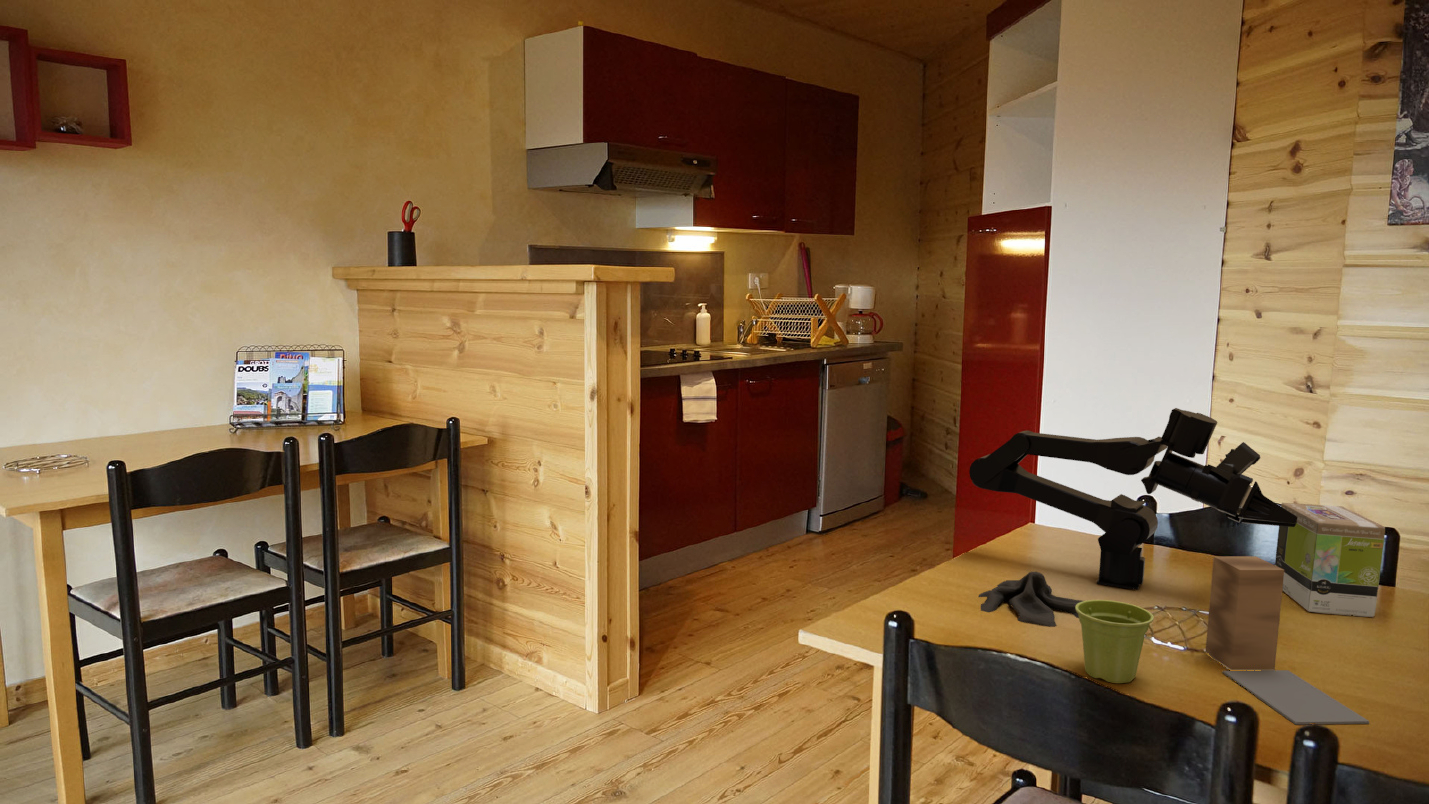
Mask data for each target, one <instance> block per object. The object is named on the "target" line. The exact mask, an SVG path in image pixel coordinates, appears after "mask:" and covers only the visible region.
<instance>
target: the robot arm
mask: <svg viewBox="0 0 1429 804" xmlns="http://www.w3.org/2000/svg"><path fill="white" fill-rule="evenodd" d="M1168 417H1169V418H1168V421H1167V424H1166V426H1165V430H1164V431H1163V433H1162V436H1156V437H1155V438H1152V439H1147V438H1144V437H1141V436H1124V437H1114V438H1113V437H1111V438H1105V439H1104V438H1103V439H1101V438H1100V439H1093V438H1085V437H1076V436H1068V435H1067V436H1065V435H1060V434H1059V435H1058V434H1049V433H1041V432H1035V431H1031V430H1023V431H1020V432H1017V433H1015V434H1013V435H1012V437H1011V438H1010V439H1008V440H1007V441H1006V442H1004V443H1003V444H1002V445H1001V446H999V447H998V448H996V449H995V450H994V451H993V452H991V453H988V454H987V455H984V456H982V457H979V458H976V459H974V461H973V462H972V463H971V464H970V466H969V473H968V474H969V479H970V480H971V483H972V484H973V485H974V486H976V487H977V488H979V489H982V490H986V491H987V490H988V491H991V492H997V493H1009V494H1010V493H1011V494H1016V495H1020V496H1023V497H1026V498H1028V499H1031V500H1033V501H1036V502H1038V503H1041V504H1044V505H1045V506H1049V507H1051V508H1054V509H1057V510H1059V511H1062V512H1065V513H1067V514H1070V515H1071V516H1075V517H1078V518H1080V519H1083V520H1086V521H1089V522H1091V523H1092V524H1094V525H1095V526H1097V527H1098V528H1099V529H1101V530H1102V531H1103V532H1104V533H1103V534H1102V535H1100V536H1099V537H1098V538H1097V543H1098V544H1099V545H1098V546H1099V548H1100V555H1099V556H1100V557H1099V571H1098V578H1097V580H1096V584H1098V585H1101V586H1102V585H1104V586H1109V587H1115V588H1116V587H1117V588H1121V589H1122V588H1123V589H1128V590H1134V591H1135V590H1136V591H1137V590H1138V591H1139V588H1140V585H1142V584H1143V583H1144V577H1145V568H1146V567H1145V565H1146V558H1145V556H1142V555H1143V554H1142V553H1143V548H1142V547H1140V546H1141V545H1143V543H1144V542H1146V541H1147V540H1148V539H1149V538H1150V537H1151V536H1152V535H1154V534H1155V532H1156V531H1157V530H1158V525H1159V521H1158V517H1157V515H1156V513H1155V511H1154V510H1153V509H1152V508H1151V507H1149V506H1147V505H1145V504H1146V502H1145V501H1143V500H1142V501H1141V500H1140V501H1139V500H1134V499H1132V498H1130V497H1129V496H1127V495H1125V494H1122V493H1121V494H1119V495H1117V496H1116V497H1114V498H1113V499H1112V500H1107V499H1103V498H1100V497H1097V496H1095V495H1092V494H1089V493H1086V492H1084V491H1081V490H1078V489H1075V488H1072V487H1069V486H1068V485H1064V484H1062V483H1058V482H1057V481H1053V480H1050V479H1048V478H1045V477H1042V476H1039V475H1037V474H1034V473H1032V472H1029V471H1027V470H1026V469H1025V468H1023V467H1022V465H1020V462H1022V461H1023V459H1025V458H1026V457H1027V456H1028V455H1029V456H1037V457H1045V458H1052V459H1053V458H1054V459H1061V460H1068V461H1076V462H1085V463H1090V464H1094V465H1097V466H1099V467H1102V468H1104V469H1106V470H1109V471H1112V472H1115V473H1117V474H1118V473H1119V474H1121V475H1126V476H1134V475H1138V474H1139V473H1141V472H1143V471H1144V470H1146V469H1148V468H1149V467H1150V466H1151V465H1152V464H1153V465H1152V467H1151V469H1150V472H1149V474H1148V476H1144V477H1143V478H1141V480H1140V482H1141V483H1142V484H1143V486H1144V489H1145V492H1146V494H1147V495H1151V494H1153V493H1154V492H1155V491H1156V490H1157V488H1158V486H1161V487H1163V488H1166V489H1168V490H1169V491H1172V492H1175V493H1176V494H1180V495H1182V496H1185V497H1187V498H1189V499H1191V500H1193V501H1195V502H1197V503H1201V504H1203V505H1205V506H1208V507H1211V508H1212V509H1215V510H1217V511H1219V512H1221V513H1222V514H1223V513H1225V515H1226V517H1227V518H1228V519H1230V520H1232V521H1234V522H1236V523H1240V522H1241V523H1242V524H1249V525H1251V524H1252V525H1261V526H1263V525H1264V526H1276V527H1279V526H1286V527H1295V525H1296V523H1297V519H1298V517H1297V516H1295V515H1294V514H1292V513H1291V512H1289V511H1287V510H1286V509H1284V508H1283V507H1281V505H1280V504H1278V503H1276V502H1275V501H1273V500H1272V499H1270V498H1269V497H1266V496H1265V495H1264V494H1263V493H1262V490H1261V488H1260V486H1259V483H1258V482H1257V481H1254V479H1253V478H1252V477H1250V476H1247V475H1245V474H1244V473H1245V471H1247V470H1248V469H1249V468H1250V467H1251V466H1252V465H1256V464H1257V463H1258V461H1260V459H1262V458H1261V455H1260V454H1259V453H1258V452H1256V451H1255V450H1254V449H1253V448H1252V447H1250V446H1249V445H1248V444H1247V443H1246V442H1241V443H1240V444H1239V445H1238V446H1237V447H1236V448H1231V449H1230V451H1229V452H1228V453H1226V454H1225V455H1224V456H1225V458H1224V459H1222V461H1221V462H1219V464H1218V465H1216V466H1214V465H1212V464H1209V463H1208V464H1207V465H1206V464H1205V465H1203V464H1201V463H1198V462H1196V461H1193V460H1191V459H1192V458H1195V457H1196V455H1204V454H1205V452H1206V449H1207V447H1208V445H1209V443H1210V440H1211V437H1212V436H1213V433H1214V431H1215V429H1216V427H1217V425H1218V421H1217V420H1216V419H1214V418H1212V417H1210V416H1209V415H1206V414H1203V413H1200V412H1193V411H1189V410H1183V409H1180V408H1178V407H1174V408H1172V409H1171V411H1170V414H1169V416H1168ZM1164 450H1165V453H1164V454H1163V457H1162V459H1161V460H1155V457H1156V456H1157V455H1158V454H1160V453H1162V452H1163V451H1164ZM1188 458H1191V459H1188ZM1253 482H1254V484H1253ZM1252 484H1253V485H1252Z"/></svg>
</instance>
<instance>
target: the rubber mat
mask: <svg viewBox="0 0 1429 804" xmlns="http://www.w3.org/2000/svg"><path fill="white" fill-rule="evenodd" d="M1222 674H1224V676H1226V677H1227V676H1228V678H1229V677H1230V678H1231V680H1232V679H1233V680H1234V681H1236V682H1237V683H1238V684H1237V683H1236V682H1235V683H1236V684H1237V685H1239V686H1240V685H1241V686H1240V687H1242V686H1243V687H1245V688H1246V689H1247V690H1248V691H1247V690H1246V689H1245V690H1246V691H1247V692H1249V691H1250V692H1251V693H1250V692H1249V693H1250V694H1252V695H1253V694H1254V695H1255V697H1256V698H1257V699H1258V700H1260V701H1262V702H1263V703H1264V704H1266V705H1267V706H1269V707H1270V708H1271V709H1272V710H1274V711H1276V712H1277V713H1279V714H1280V715H1281V716H1283V717H1284V718H1285V719H1287V720H1288V721H1289V722H1291V723H1293V724H1294V725H1299V726H1301V725H1311V724H1310V723H1316V724H1315V725H1354V724H1355V725H1356V724H1357V725H1359V724H1361V725H1362V724H1363V725H1365V724H1370V720H1368V719H1366V718H1365V717H1363V716H1362V715H1360V714H1359V713H1357V712H1355V711H1354V710H1352V709H1351V708H1349V707H1347V706H1346V705H1344V704H1343V703H1342V702H1340V701H1338V700H1337V699H1335V698H1333V697H1331V696H1330V695H1328V694H1327V693H1325V692H1323V691H1322V690H1321V689H1320V688H1317V687H1315V686H1314V685H1312V684H1311V683H1310V682H1307V681H1306V680H1304V679H1303V678H1301V677H1299V676H1298V675H1296V674H1295V673H1293V672H1291V671H1290V670H1287V669H1284V670H1282V669H1281V670H1280V669H1279V670H1278V669H1276V670H1261V671H1229V670H1222ZM1230 678H1229V679H1230ZM1233 680H1232V681H1233ZM1234 681H1233V682H1234ZM1243 687H1242V688H1243ZM1254 695H1253V696H1254Z"/></svg>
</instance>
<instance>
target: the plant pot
mask: <svg viewBox="0 0 1429 804" xmlns="http://www.w3.org/2000/svg"><path fill="white" fill-rule="evenodd" d="M1075 609H1076V612H1077V613H1078V614H1079V618H1078V621H1079V622H1080V624H1081V635H1082V647H1083V661H1084V663H1083V664H1084V670H1085V673H1086V674H1088V675H1089V676H1090V677H1091V678H1094V679H1102V680H1104V681H1106V682H1108V683H1113V684H1114V683H1115V684H1127V683H1131V682H1132V681H1133V679H1135V678H1136V676H1137V672H1138V666H1139V663H1140V658H1141V653H1142V649H1143V644H1144V639H1145V636H1146V633H1147V632H1148V631H1149V628H1150V624H1152V623H1153V622H1154V618H1155V617H1154V615H1153V613H1152V612H1150V611H1149V610H1147V609H1145V608H1143V607H1141V606H1138V605H1135V604H1132V603H1128V602H1122V601H1119V600H1117V601H1116V600H1110V599H1109V600H1108V599H1090V600H1089V599H1087V600H1082V602H1080V603H1078V604H1077V605H1076V606H1075Z"/></svg>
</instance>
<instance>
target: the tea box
mask: <svg viewBox="0 0 1429 804" xmlns="http://www.w3.org/2000/svg"><path fill="white" fill-rule="evenodd" d="M1280 506H1281V507H1283V508H1284V509H1286V510H1287V511H1289V512H1291V513H1292V514H1294V515H1295V516H1297V517H1298V519H1297V523H1296V525H1295V527H1286V526H1278V531H1277V542H1276V550H1275V551H1276V553H1275V563H1274V565H1275V566H1277V567H1279V568H1281V569H1284V578H1283V589H1282V592H1284V593H1285V594H1286V595H1287V596H1289V597H1290V598H1291V599H1292V600H1294V601H1295V602H1297V603H1298V604H1299V605H1300V606H1301V607H1303V608H1304V609H1305V610H1306V611H1307V612H1310V613H1311V612H1312V613H1319V614H1330V615H1340V616H1341V615H1342V616H1351V615H1353V617H1354V616H1355V617H1367V618H1369V617H1370V618H1374V616H1375V614H1376V608H1377V601H1378V590H1379V583H1380V577H1381V570H1382V569H1381V567H1382V559H1383V550H1384V546H1385V545H1384V543H1385V535H1386V527H1385V526H1383V525H1382V524H1381V523H1377V522H1376V521H1374V520H1372V519H1370V518H1367V517H1365V516H1363V515H1361V514H1359V513H1357V512H1354V511H1352V510H1350V509H1348V508H1346V507H1345V506H1341V505H1340V506H1339V505H1325V504H1308V503H1297V502H1296V503H1294V502H1281V505H1280Z"/></svg>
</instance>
